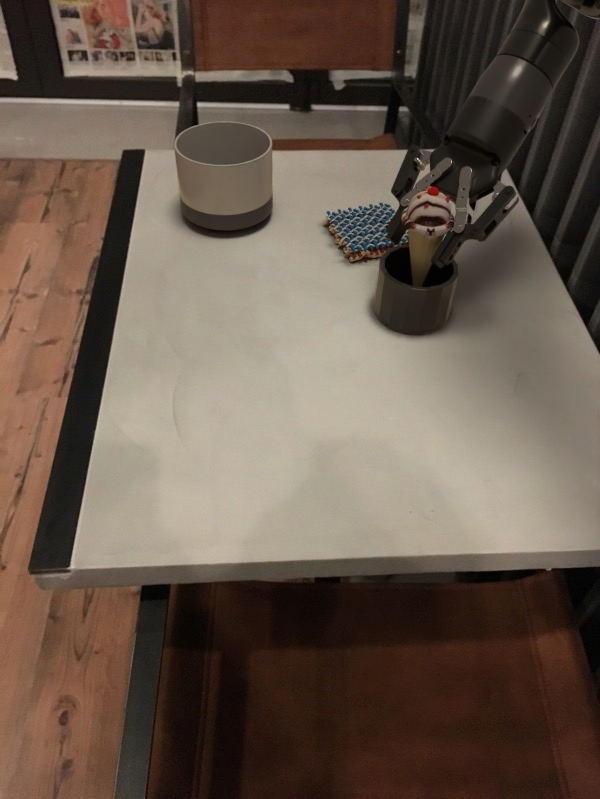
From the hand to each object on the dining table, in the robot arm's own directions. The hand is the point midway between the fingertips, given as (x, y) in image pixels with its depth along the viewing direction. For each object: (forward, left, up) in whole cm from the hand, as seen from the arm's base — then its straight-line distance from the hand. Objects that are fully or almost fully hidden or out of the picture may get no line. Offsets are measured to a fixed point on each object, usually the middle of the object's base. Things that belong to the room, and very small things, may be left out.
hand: (413, 252), depth 75 cm
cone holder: (0, -2, -9) cm, 9 cm away
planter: (+31, -9, -9) cm, 33 cm away
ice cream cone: (0, -2, -8) cm, 8 cm away
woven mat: (+11, -14, -9) cm, 20 cm away
